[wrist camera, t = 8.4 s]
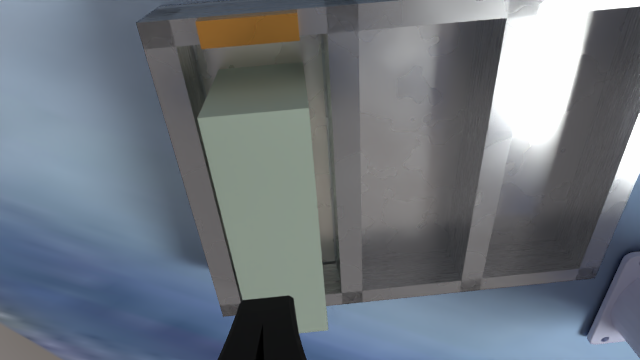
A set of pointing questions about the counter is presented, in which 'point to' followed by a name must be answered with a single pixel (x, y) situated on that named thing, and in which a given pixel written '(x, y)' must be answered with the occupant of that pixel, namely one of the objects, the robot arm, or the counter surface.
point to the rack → (426, 133)
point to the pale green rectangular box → (267, 184)
